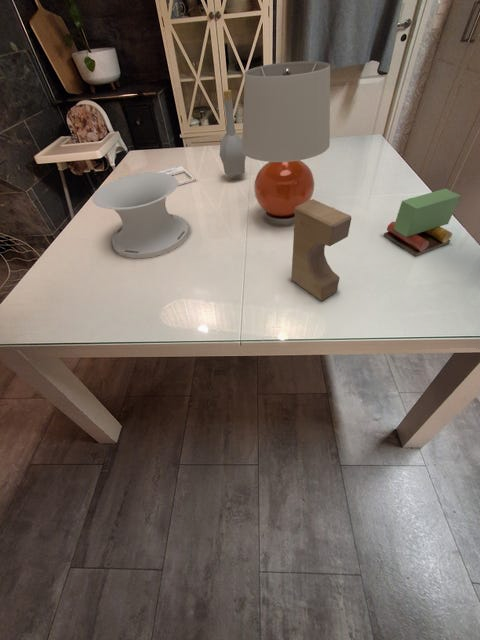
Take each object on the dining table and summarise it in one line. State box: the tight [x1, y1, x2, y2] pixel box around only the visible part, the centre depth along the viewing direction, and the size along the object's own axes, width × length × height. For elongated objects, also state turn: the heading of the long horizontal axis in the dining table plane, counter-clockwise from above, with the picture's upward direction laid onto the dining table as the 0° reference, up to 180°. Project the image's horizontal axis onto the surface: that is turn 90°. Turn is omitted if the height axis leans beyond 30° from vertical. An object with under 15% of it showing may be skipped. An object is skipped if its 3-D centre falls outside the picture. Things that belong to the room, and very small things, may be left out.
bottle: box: [219, 89, 247, 180], centre depth 115 cm, size 11×11×30 cm
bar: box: [393, 188, 462, 237], centre depth 79 cm, size 5×14×8 cm, turn 110°
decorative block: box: [290, 198, 352, 302], centre depth 68 cm, size 11×6×20 cm, turn 34°
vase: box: [91, 171, 190, 259], centre depth 93 cm, size 25×25×16 cm
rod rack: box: [383, 221, 453, 257], centre depth 84 cm, size 12×12×4 cm
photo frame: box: [157, 165, 196, 186], centre depth 131 cm, size 15×1×18 cm
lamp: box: [241, 60, 331, 227], centre depth 86 cm, size 25×25×39 cm
